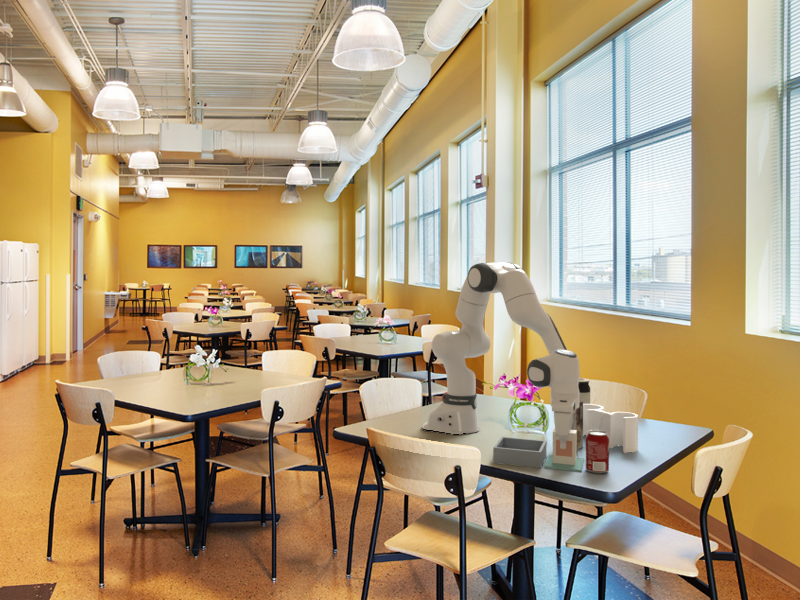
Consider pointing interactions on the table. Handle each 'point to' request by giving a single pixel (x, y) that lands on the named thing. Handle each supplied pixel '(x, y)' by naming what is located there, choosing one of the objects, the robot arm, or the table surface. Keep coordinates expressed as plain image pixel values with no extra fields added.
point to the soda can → (597, 452)
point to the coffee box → (578, 424)
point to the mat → (564, 465)
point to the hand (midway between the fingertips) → (564, 444)
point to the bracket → (612, 426)
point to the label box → (565, 454)
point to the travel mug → (584, 390)
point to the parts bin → (520, 452)
